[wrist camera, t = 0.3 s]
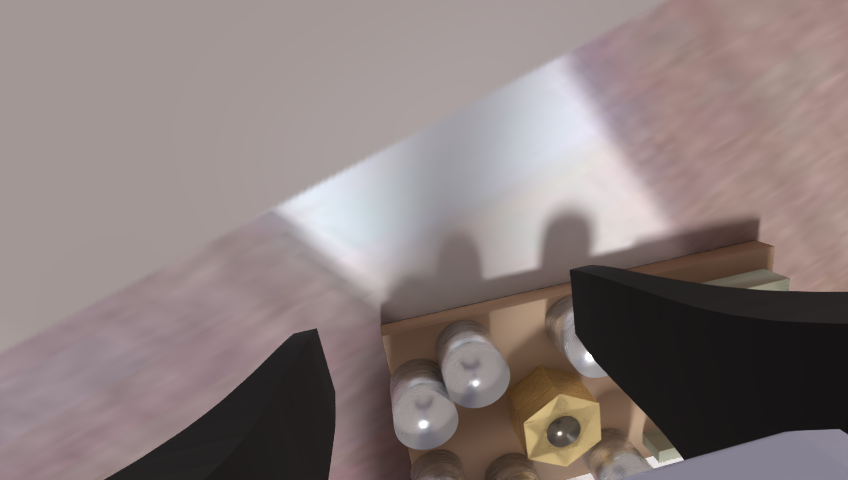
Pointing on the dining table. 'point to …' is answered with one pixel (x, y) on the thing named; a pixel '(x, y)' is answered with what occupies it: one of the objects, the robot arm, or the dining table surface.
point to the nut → (554, 416)
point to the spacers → (489, 401)
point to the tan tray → (561, 357)
